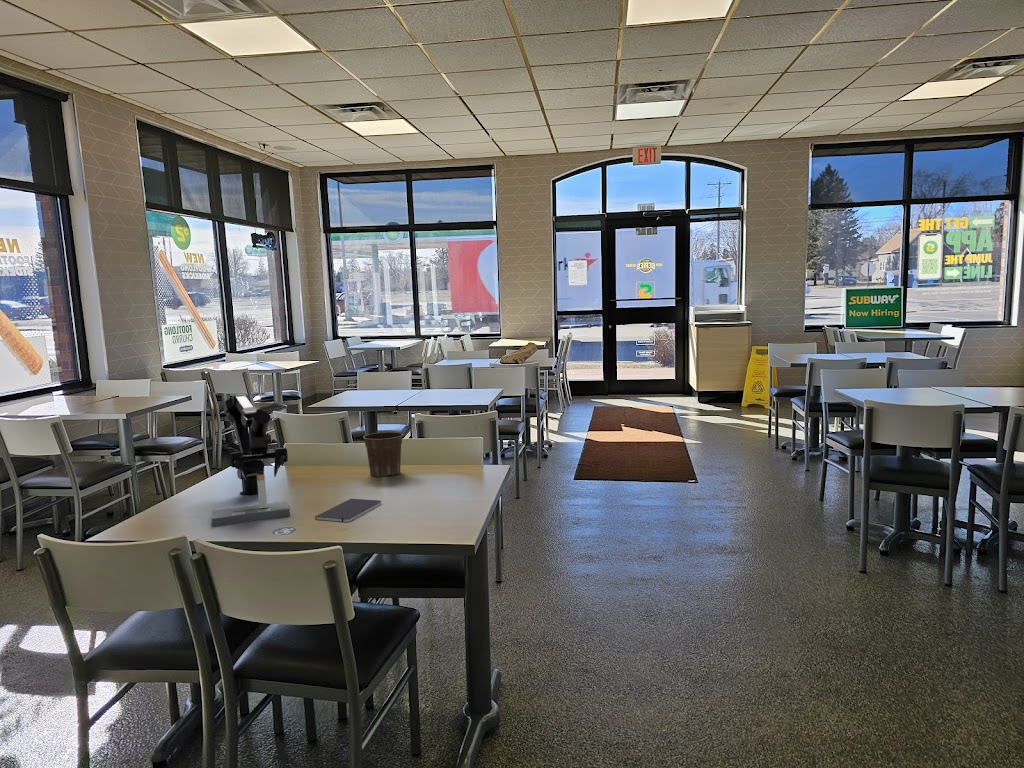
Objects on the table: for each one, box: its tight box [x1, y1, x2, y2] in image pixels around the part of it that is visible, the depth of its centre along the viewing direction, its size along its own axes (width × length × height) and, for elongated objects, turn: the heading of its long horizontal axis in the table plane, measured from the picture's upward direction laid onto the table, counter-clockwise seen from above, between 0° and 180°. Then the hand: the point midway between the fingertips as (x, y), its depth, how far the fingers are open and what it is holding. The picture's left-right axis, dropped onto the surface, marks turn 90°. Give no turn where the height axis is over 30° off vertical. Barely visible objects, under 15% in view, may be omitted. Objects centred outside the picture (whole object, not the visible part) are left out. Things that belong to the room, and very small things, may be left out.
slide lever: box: [257, 474, 268, 509], centre depth 234 cm, size 2×3×11 cm
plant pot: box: [363, 431, 404, 478], centre depth 286 cm, size 16×16×16 cm
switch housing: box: [211, 500, 291, 527], centre depth 234 cm, size 24×10×2 cm, turn 110°
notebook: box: [314, 498, 382, 523], centre depth 236 cm, size 13×2×21 cm
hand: (260, 478), depth 239 cm, fingers open, 9 cm apart
